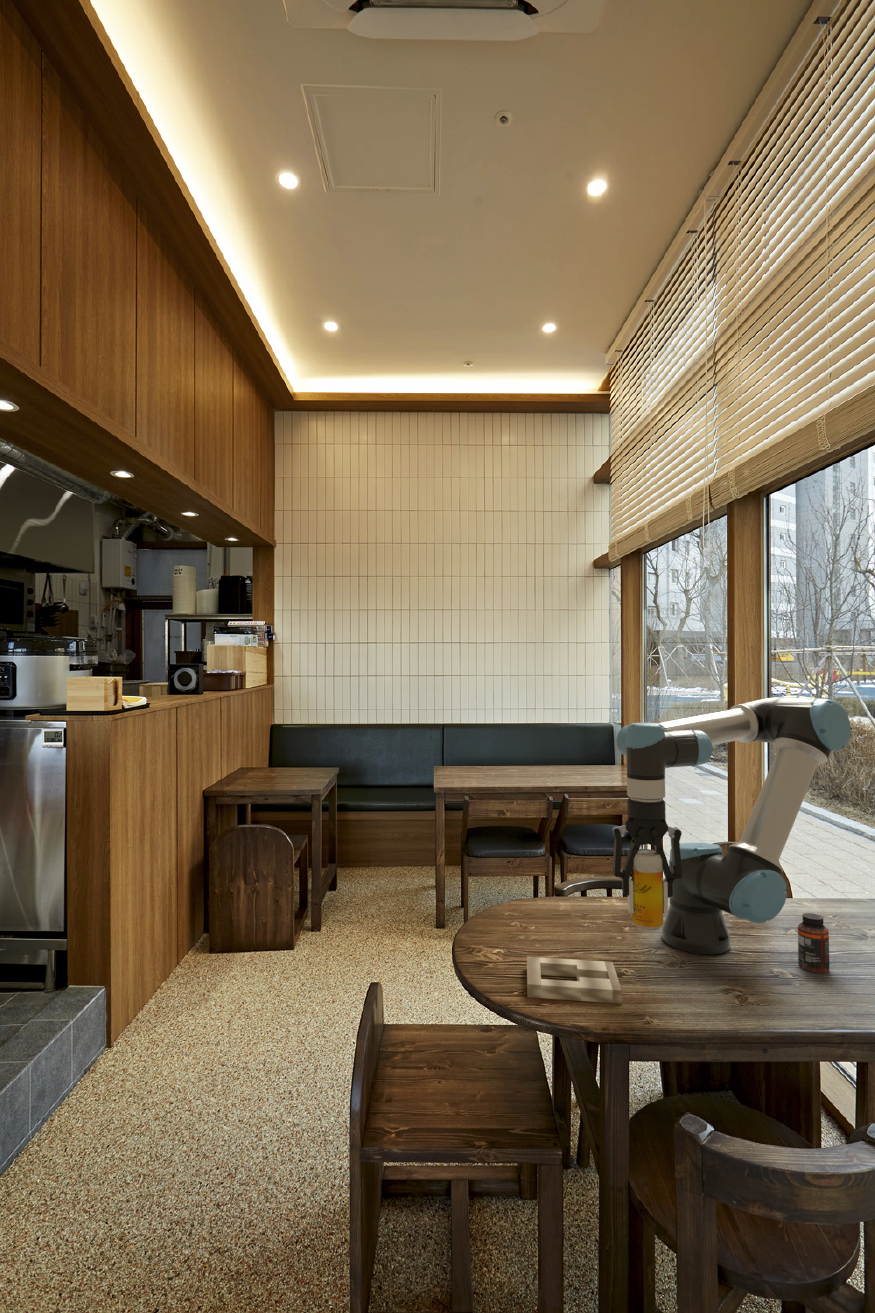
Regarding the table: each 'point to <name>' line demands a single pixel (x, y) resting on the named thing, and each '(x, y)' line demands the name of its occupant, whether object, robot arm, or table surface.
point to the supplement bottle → (813, 944)
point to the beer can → (647, 890)
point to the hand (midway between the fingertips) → (647, 911)
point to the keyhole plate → (591, 984)
